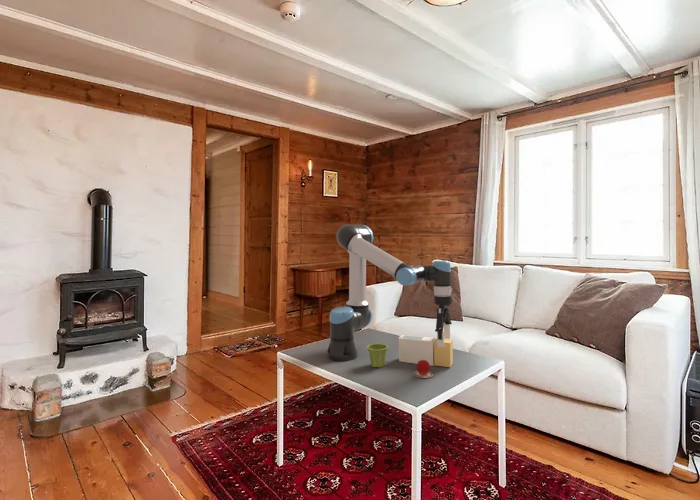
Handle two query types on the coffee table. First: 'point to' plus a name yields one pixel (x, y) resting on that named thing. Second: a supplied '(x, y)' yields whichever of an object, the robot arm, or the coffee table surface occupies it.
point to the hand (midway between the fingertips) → (444, 342)
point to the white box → (416, 349)
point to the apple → (423, 369)
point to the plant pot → (377, 354)
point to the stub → (443, 353)
